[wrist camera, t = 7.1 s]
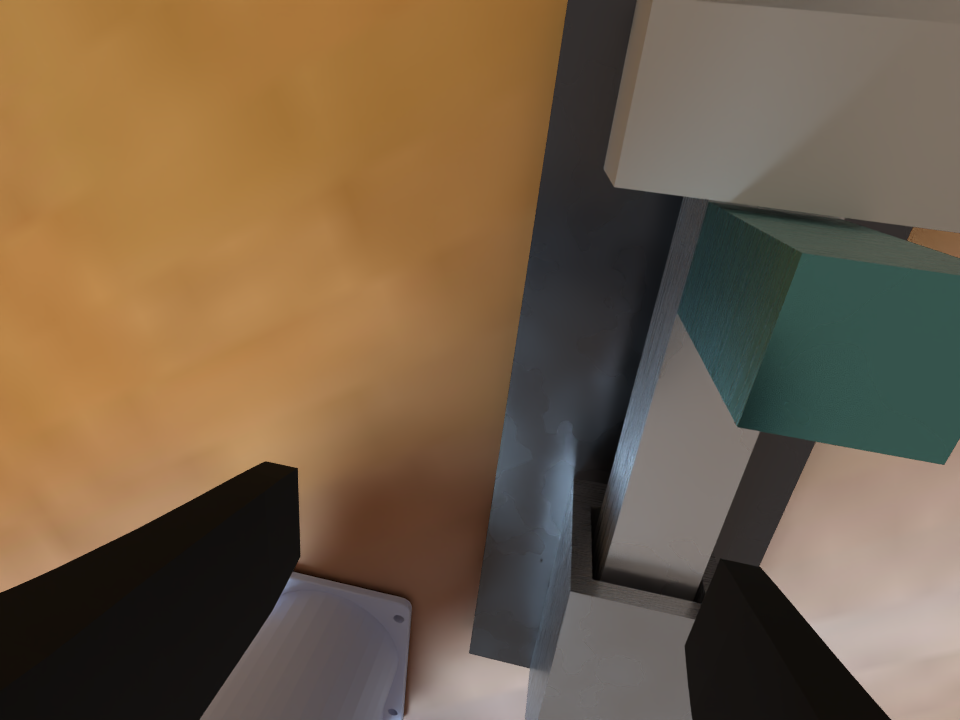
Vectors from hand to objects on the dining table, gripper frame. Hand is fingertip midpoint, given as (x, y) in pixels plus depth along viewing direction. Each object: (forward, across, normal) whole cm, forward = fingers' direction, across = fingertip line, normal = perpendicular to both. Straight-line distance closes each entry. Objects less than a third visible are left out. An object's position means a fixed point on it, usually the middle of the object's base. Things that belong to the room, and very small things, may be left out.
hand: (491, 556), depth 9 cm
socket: (+10, -4, -8) cm, 14 cm away
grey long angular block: (+10, -4, +3) cm, 11 cm away
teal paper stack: (+7, -4, -1) cm, 9 cm away
